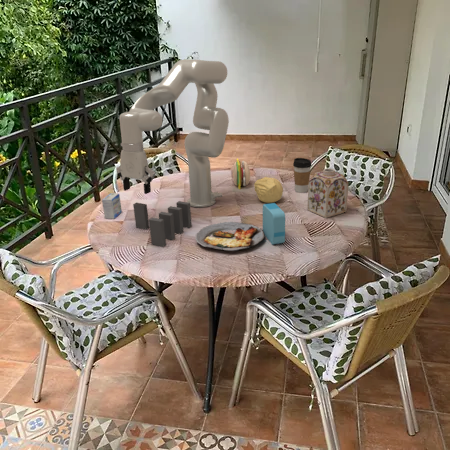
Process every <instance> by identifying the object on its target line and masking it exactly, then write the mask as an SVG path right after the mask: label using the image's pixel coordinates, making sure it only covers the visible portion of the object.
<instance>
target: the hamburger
mask: <svg viewBox="0 0 450 450" xmlns="http://www.w3.org/2000/svg"><path fill="white" fill-rule="evenodd" d="M232 176H233V177H232V178H233V182H234V185H235V186H236V187H238V190H241V187H242V186H243V187H246V186H248V185H249V183H250V180H251V169H250V166H249V164H248V163H247V161H245V160H242V161H239V158H236V161H235V162H234V164H233V168H232Z"/></svg>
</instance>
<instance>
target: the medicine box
mask: <svg viewBox="0 0 450 450" xmlns="http://www.w3.org/2000/svg"><path fill="white" fill-rule="evenodd" d="M101 202H102V209H103V214H104V215H103V216H104V218H105V219H106V220H107V219H108V220H109V219H111V220H115V219H116V218H117V217H118V216H119V215H120V214H121V213H122V212H123V211H122V203H121V197H120V193H115V192H113V193H109V194H108V195H106V196H105V197H103V198H102V200H101Z"/></svg>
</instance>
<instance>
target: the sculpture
mask: <svg viewBox="0 0 450 450" xmlns="http://www.w3.org/2000/svg"><path fill="white" fill-rule="evenodd" d="M253 186H254V191H255V193H256V195H257V197H258V199H259V201H261V202H263V203H264V204H271V203H275V202H278V201H280V200H281V198H282V197H283V193H284V188H283V185H282V183H281V182H280V181H279V180H278V179H276V178H275V177H268V176H264V177H263V178H259V179H257V180H256V181H255V182H254V185H253Z"/></svg>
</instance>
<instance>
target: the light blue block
mask: <svg viewBox="0 0 450 450" xmlns="http://www.w3.org/2000/svg"><path fill="white" fill-rule="evenodd" d="M262 230H263V231H264V234H265V238H266V239H267V240H268V241H269V242H270V244H271V245H279V244H284V243H285V241H286V214H285V211H284V210H282V209H281V208H280V207H279V206H278V205H277V204H276V203H275V202H273V203H263V204H262Z"/></svg>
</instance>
